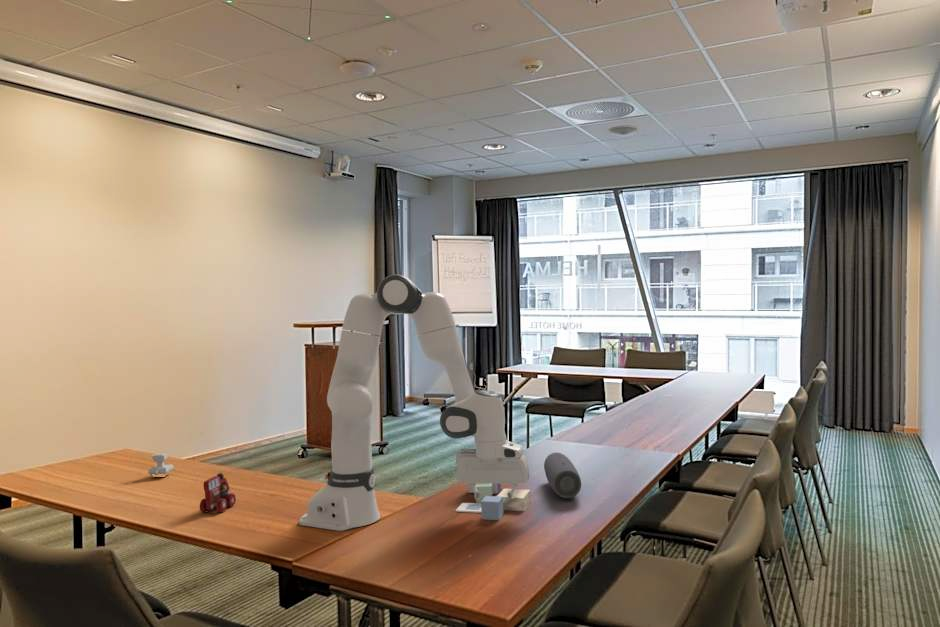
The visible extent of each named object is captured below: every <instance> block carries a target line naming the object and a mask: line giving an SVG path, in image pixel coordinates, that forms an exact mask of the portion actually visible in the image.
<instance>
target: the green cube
mask: <svg viewBox="0 0 940 627" xmlns="http://www.w3.org/2000/svg"><path fill="white" fill-rule="evenodd" d="M475 486H476V488H477V490H478V491H481V498H479V499H476V498H475V503H481V501H482V500H483V498H484V497H485V496H493V493H492V483H476V485H475Z"/></svg>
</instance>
